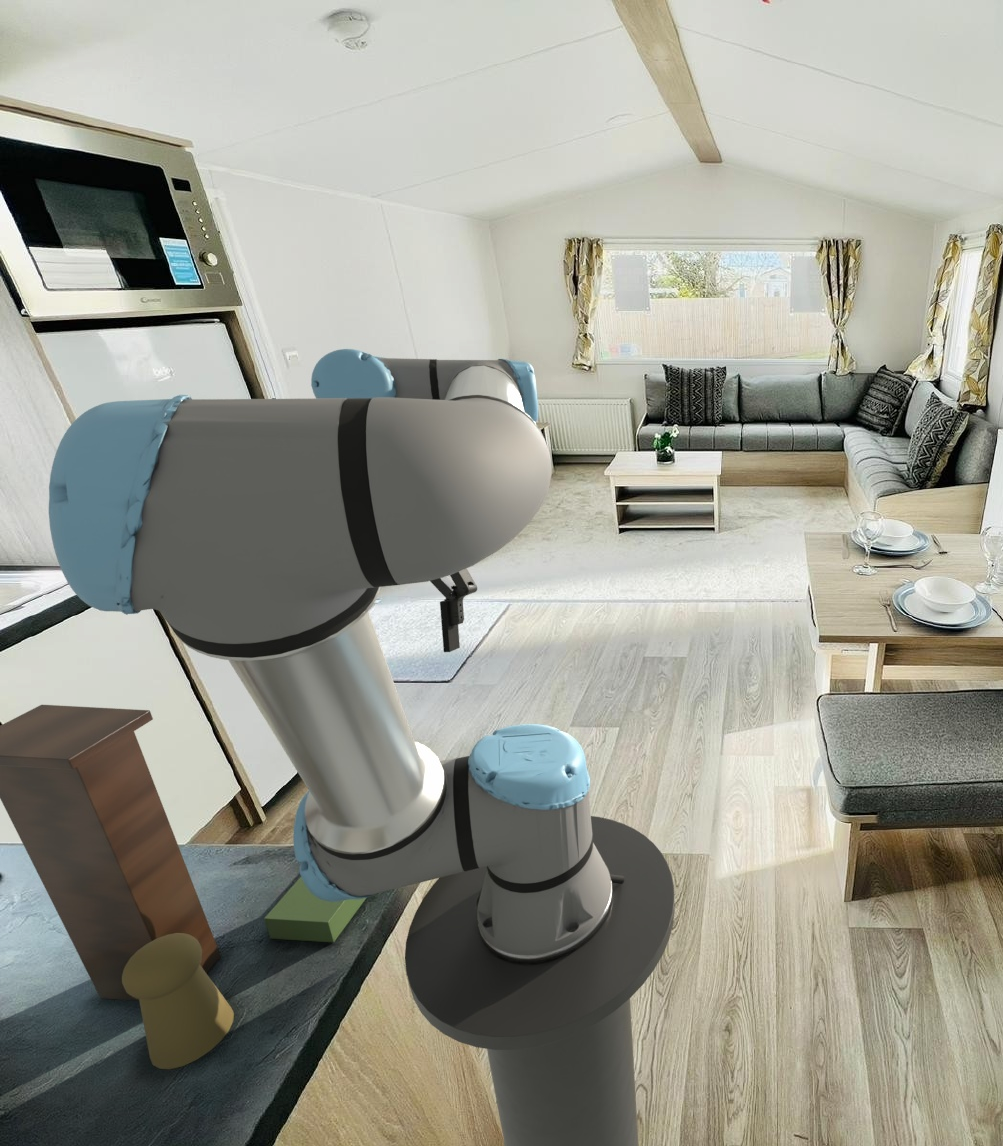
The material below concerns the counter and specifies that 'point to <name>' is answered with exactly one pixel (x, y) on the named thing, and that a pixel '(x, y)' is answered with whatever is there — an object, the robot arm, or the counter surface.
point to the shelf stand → (99, 835)
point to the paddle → (309, 916)
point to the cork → (176, 1000)
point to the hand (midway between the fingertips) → (399, 651)
